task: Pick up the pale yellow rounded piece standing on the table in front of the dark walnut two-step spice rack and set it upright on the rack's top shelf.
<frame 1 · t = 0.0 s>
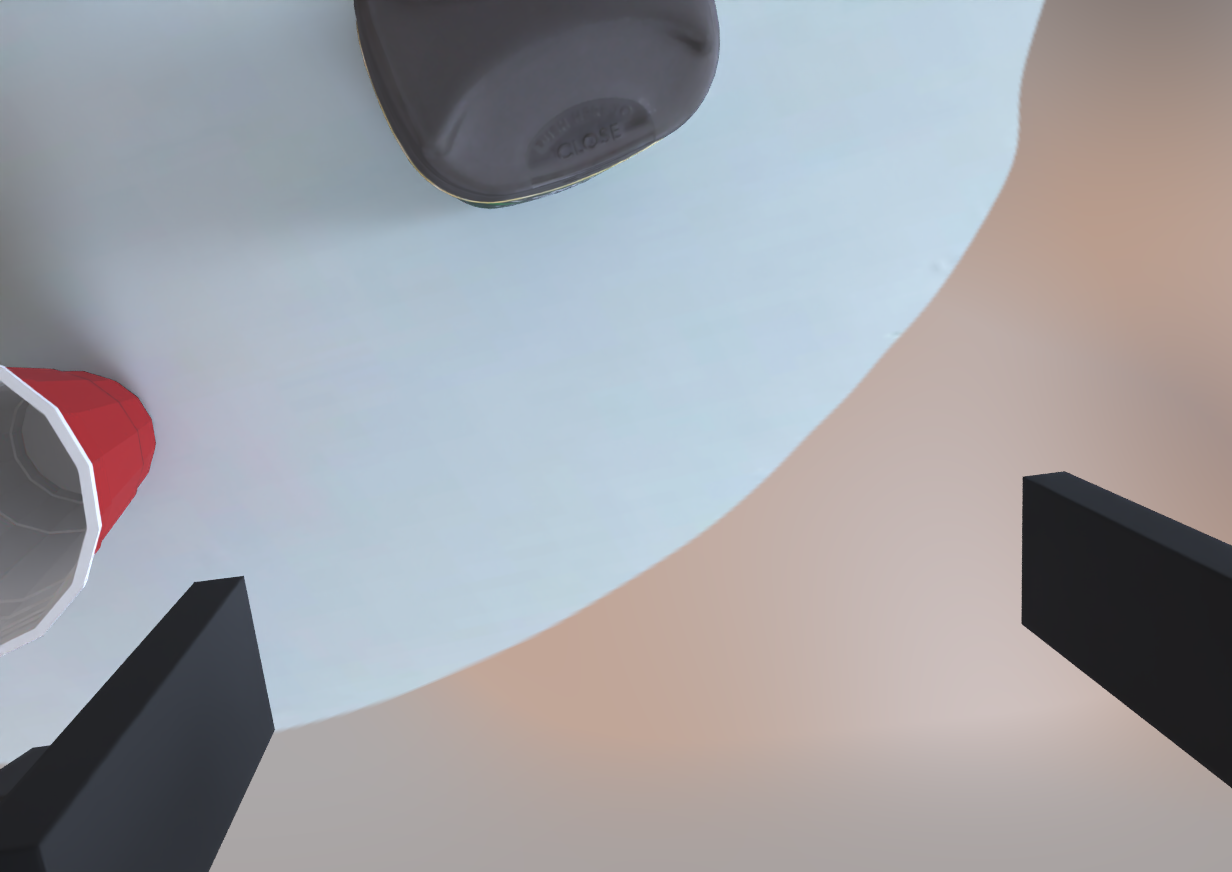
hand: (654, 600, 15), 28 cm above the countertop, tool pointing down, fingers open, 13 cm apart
plastic cup: (87, 431, 41), on the countertop
coffee jar: (526, 106, 40), on the countertop
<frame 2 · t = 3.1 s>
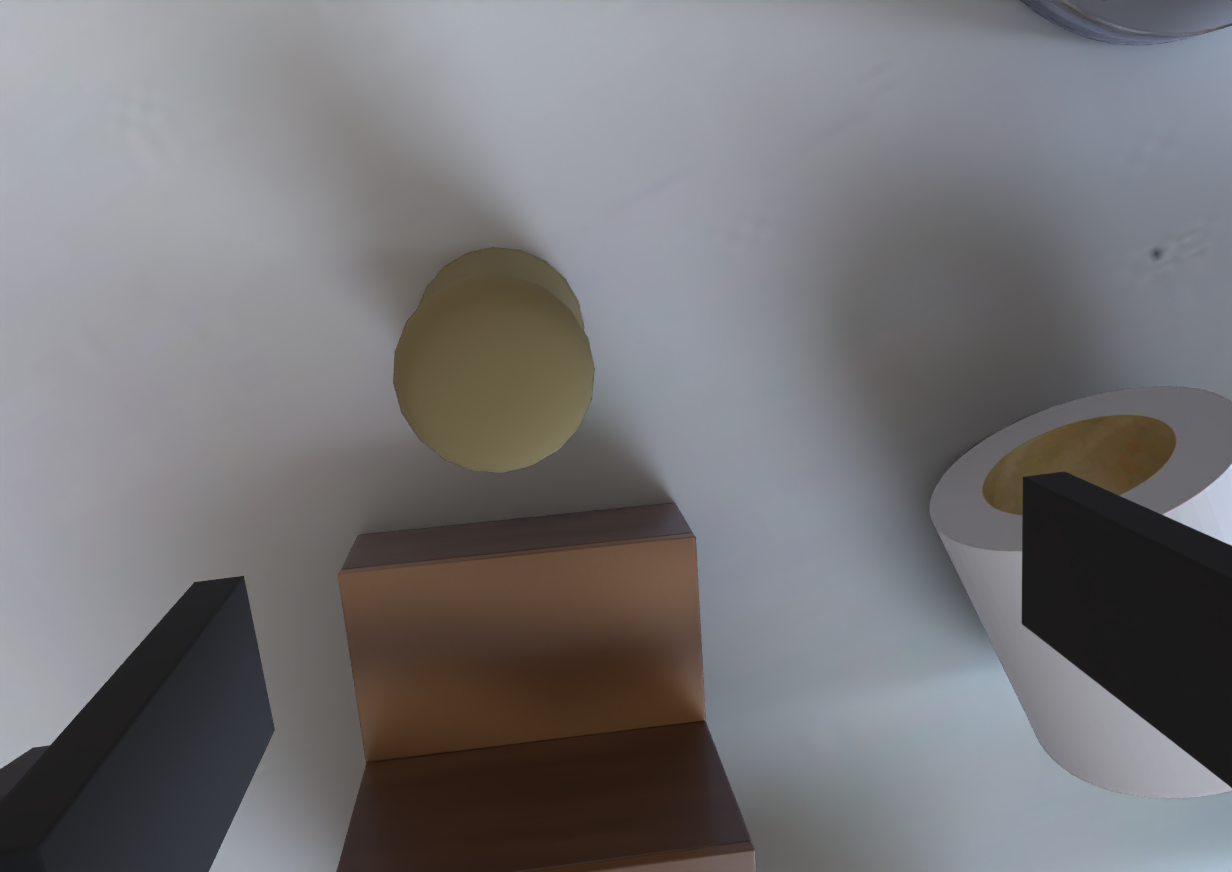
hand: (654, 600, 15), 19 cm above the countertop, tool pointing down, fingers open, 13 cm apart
toilet paper: (1043, 534, 38), on the countertop
spice rack: (540, 732, 37), on the countertop
pale yellow rounded piece: (500, 332, 33), on the countertop
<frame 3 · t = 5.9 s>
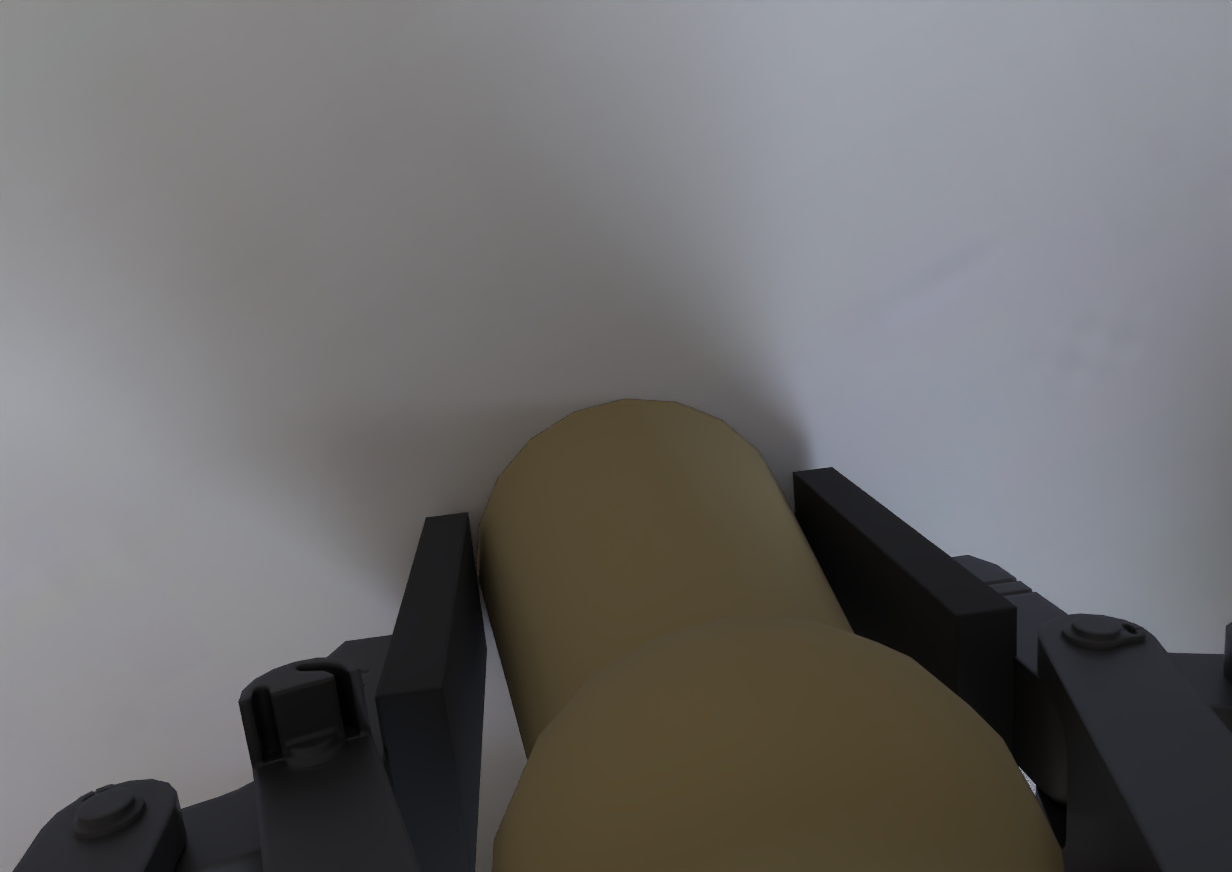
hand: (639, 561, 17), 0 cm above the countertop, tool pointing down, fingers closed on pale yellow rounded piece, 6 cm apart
pale yellow rounded piece: (635, 551, 18), on the countertop, touching gripper
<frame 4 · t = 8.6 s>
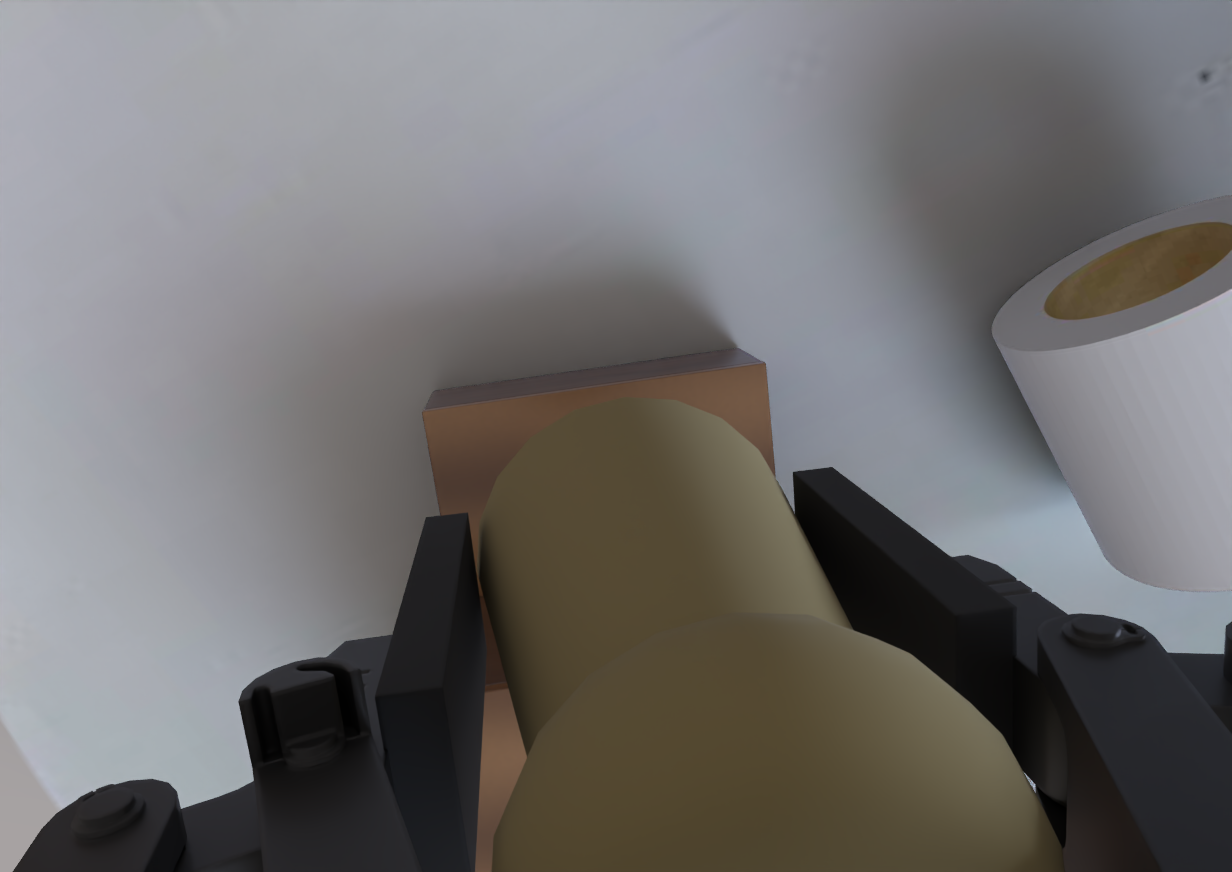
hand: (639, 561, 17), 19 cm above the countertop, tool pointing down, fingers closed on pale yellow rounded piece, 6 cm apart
toilet paper: (1101, 368, 38), on the countertop
spice rack: (616, 584, 38), on the countertop
pale yellow rounded piece: (635, 549, 18), point 19 cm above the countertop, touching gripper
when the fingers open (11 cm above the countertop, at t = 11.6 s): pale yellow rounded piece stays where it is, resting on spice rack.
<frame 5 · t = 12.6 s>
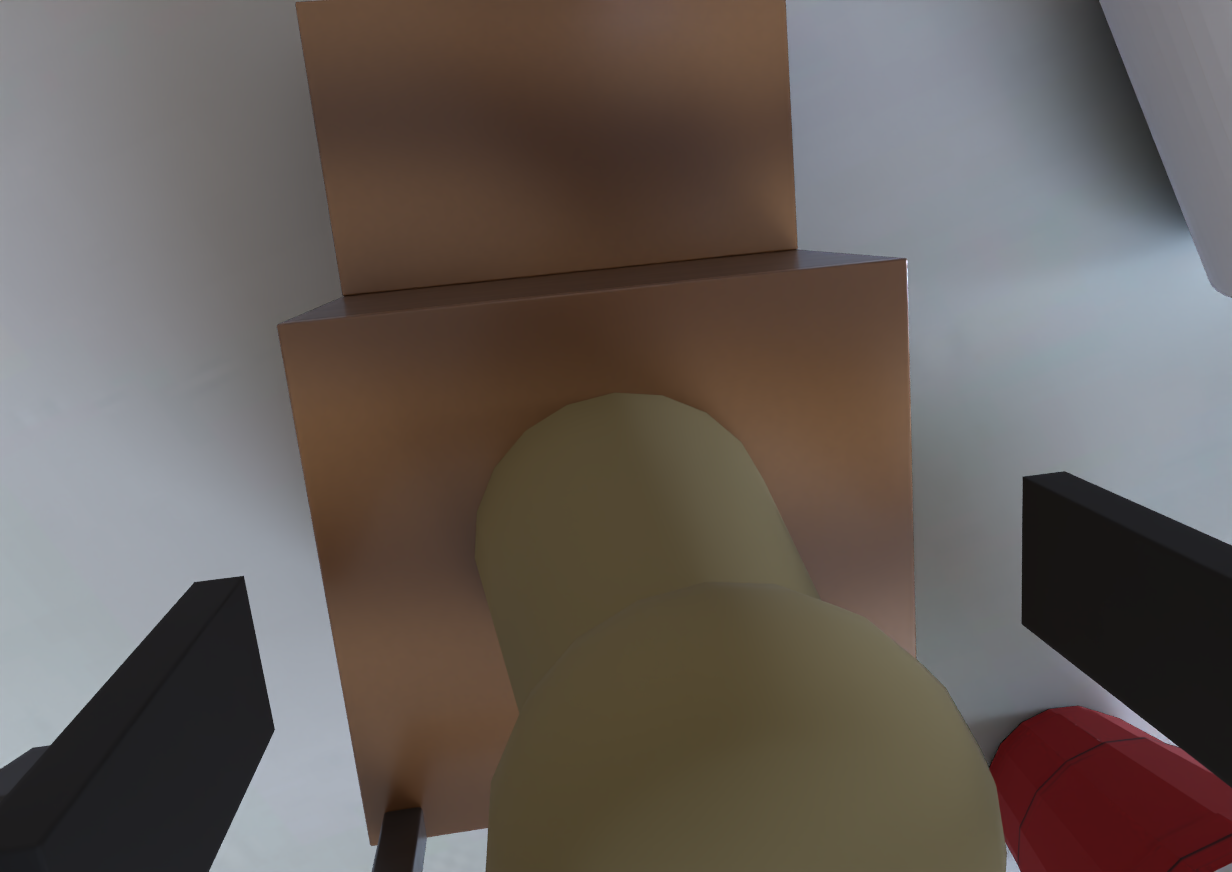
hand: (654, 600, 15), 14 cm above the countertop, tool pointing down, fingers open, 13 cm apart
plastic cup: (1052, 767, 34), on the countertop
toilet paper: (1212, 70, 29), on the countertop
spice rack: (572, 331, 28), on the countertop
pale yellow rounded piece: (624, 537, 19), point 11 cm above the countertop, touching spice rack
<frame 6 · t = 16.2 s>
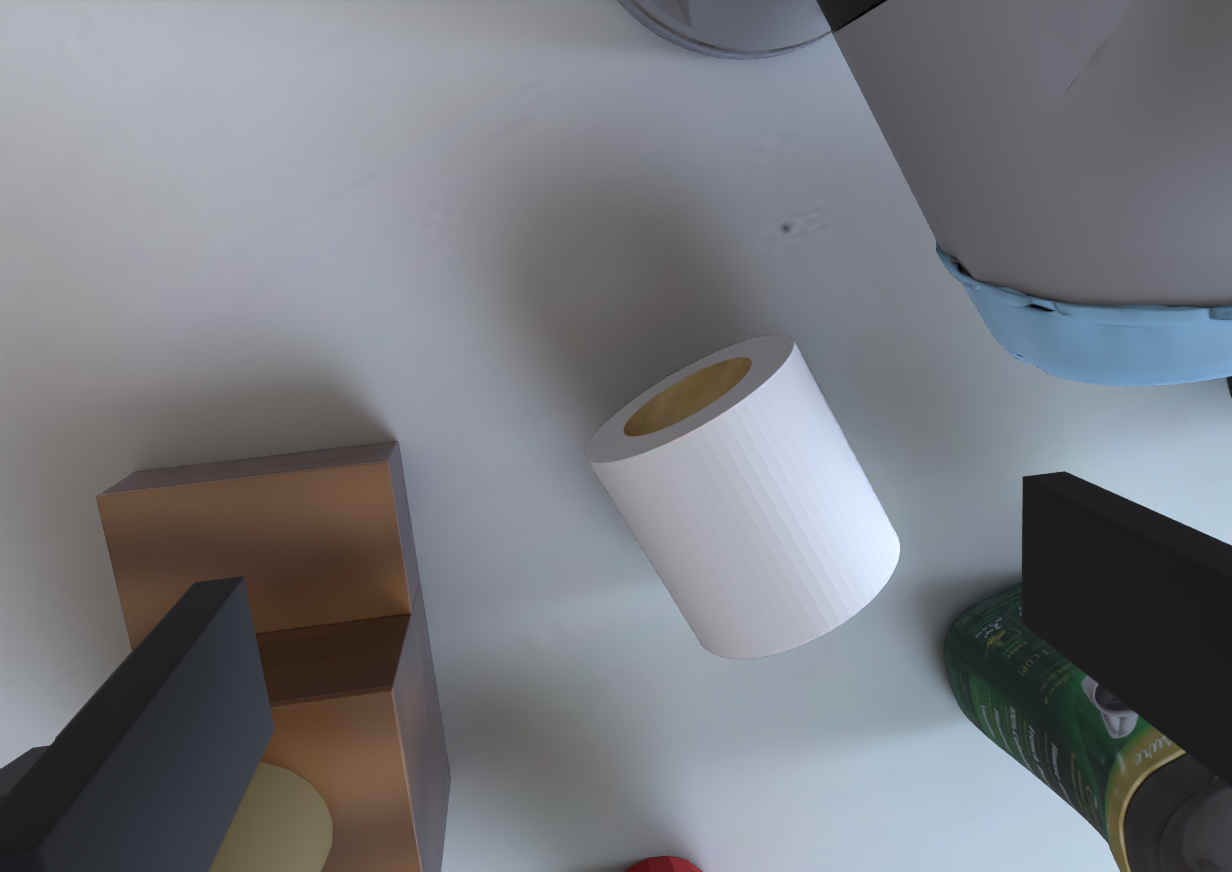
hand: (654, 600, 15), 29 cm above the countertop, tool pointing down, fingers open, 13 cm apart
toilet paper: (716, 462, 45), on the countertop
coffee jar: (1023, 641, 50), on the countertop
spice rack: (301, 634, 45), on the countertop
pale yellow rounded piece: (252, 829, 35), point 11 cm above the countertop, touching spice rack
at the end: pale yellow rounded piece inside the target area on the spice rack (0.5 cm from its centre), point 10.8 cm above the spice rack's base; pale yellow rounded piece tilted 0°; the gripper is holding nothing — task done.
